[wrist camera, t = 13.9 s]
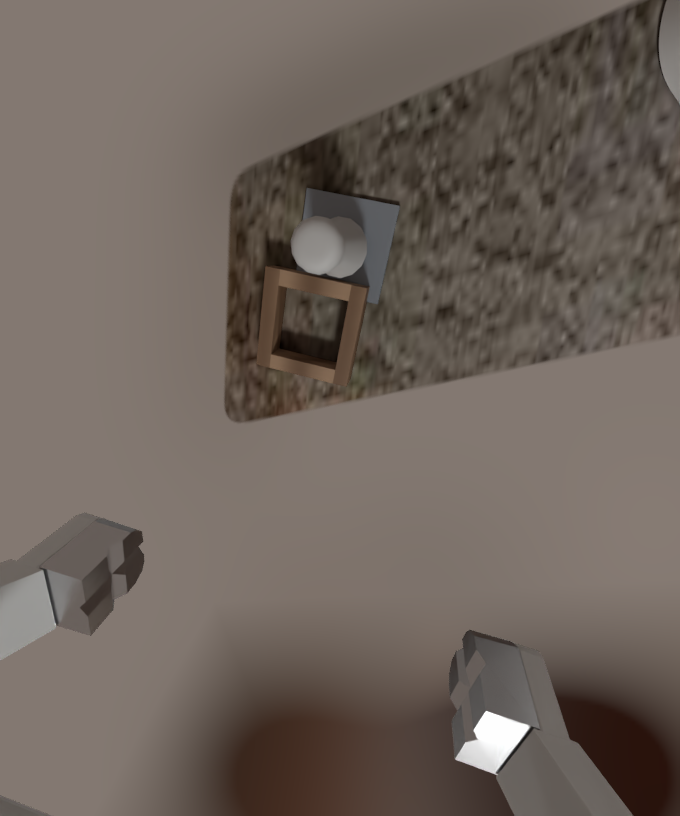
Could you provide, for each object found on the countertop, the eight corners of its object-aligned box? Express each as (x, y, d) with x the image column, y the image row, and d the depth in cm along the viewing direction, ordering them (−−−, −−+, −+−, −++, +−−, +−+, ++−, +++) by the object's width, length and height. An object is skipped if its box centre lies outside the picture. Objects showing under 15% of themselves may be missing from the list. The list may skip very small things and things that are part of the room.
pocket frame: (370, 286, 41) (367, 288, 38) (350, 378, 46) (346, 386, 43) (275, 265, 42) (265, 266, 39) (265, 357, 47) (256, 364, 44)
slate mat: (400, 206, 37) (399, 205, 37) (377, 303, 42) (377, 304, 41) (307, 188, 38) (306, 187, 38) (295, 285, 43) (294, 285, 42)
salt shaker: (325, 282, 41) (289, 293, 30) (311, 228, 40) (267, 217, 28) (375, 268, 40) (358, 274, 28) (363, 211, 38) (340, 192, 26)
